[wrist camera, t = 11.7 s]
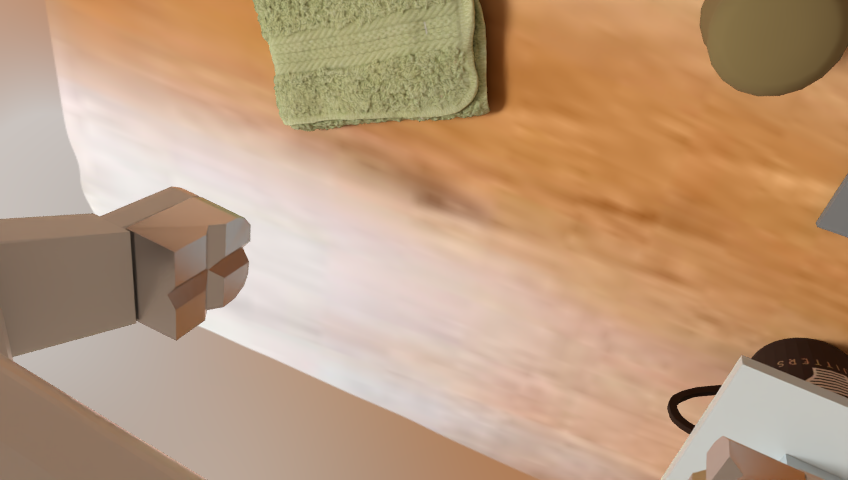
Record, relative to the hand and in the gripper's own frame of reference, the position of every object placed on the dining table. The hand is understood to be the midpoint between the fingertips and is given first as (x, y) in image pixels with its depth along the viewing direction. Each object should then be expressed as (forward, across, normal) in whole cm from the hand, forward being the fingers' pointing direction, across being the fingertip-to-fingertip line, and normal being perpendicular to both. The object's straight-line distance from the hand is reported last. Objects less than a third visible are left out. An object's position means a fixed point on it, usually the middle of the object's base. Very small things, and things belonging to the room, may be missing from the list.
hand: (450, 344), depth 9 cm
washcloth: (+32, +18, +3) cm, 37 cm away
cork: (+31, -5, -4) cm, 32 cm away
